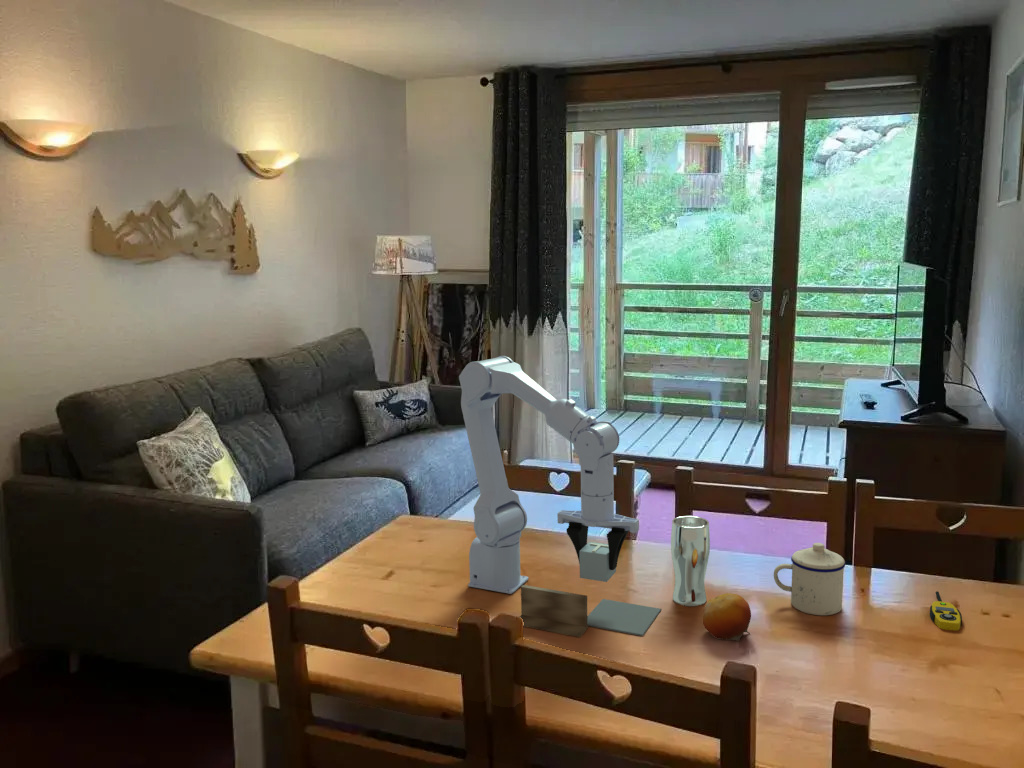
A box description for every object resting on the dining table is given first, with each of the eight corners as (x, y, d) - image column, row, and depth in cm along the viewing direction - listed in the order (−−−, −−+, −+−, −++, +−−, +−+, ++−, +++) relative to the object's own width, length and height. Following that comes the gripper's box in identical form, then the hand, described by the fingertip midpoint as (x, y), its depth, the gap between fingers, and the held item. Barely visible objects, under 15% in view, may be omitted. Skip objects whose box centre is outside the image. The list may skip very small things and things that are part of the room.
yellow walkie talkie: (934, 619, 145) (922, 584, 159) (933, 630, 145) (922, 594, 159) (966, 623, 143) (951, 587, 157) (965, 634, 144) (951, 597, 158)
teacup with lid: (842, 598, 157) (845, 537, 155) (844, 619, 149) (847, 555, 147) (773, 591, 161) (775, 531, 159) (771, 611, 153) (774, 549, 151)
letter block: (579, 577, 152) (579, 549, 151) (589, 567, 156) (589, 540, 155) (606, 582, 150) (606, 553, 149) (615, 571, 154) (615, 544, 153)
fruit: (754, 643, 138) (729, 598, 139) (712, 657, 142) (689, 612, 143) (768, 624, 145) (745, 580, 146) (728, 637, 149) (705, 595, 150)
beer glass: (709, 608, 154) (710, 528, 152) (669, 606, 156) (670, 527, 153) (708, 593, 161) (709, 516, 158) (670, 590, 162) (671, 514, 160)
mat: (581, 624, 149) (581, 623, 149) (602, 600, 159) (602, 598, 159) (642, 636, 144) (642, 634, 144) (661, 610, 154) (661, 608, 154)
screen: (515, 624, 150) (514, 592, 148) (523, 616, 153) (523, 584, 152) (580, 637, 144) (579, 603, 143) (587, 628, 147) (587, 595, 146)
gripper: (550, 493, 150) (551, 567, 152) (629, 502, 144) (630, 579, 146) (565, 483, 156) (566, 554, 159) (642, 491, 150) (642, 565, 152)
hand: (598, 565), depth 153 cm, fingers closed on letter block, 5 cm apart
